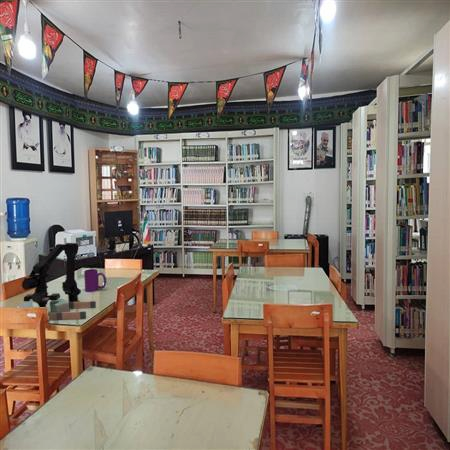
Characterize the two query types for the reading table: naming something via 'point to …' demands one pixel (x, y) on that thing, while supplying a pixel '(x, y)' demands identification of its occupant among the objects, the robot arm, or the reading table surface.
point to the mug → (93, 280)
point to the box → (59, 306)
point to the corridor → (73, 314)
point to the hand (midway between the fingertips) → (43, 311)
